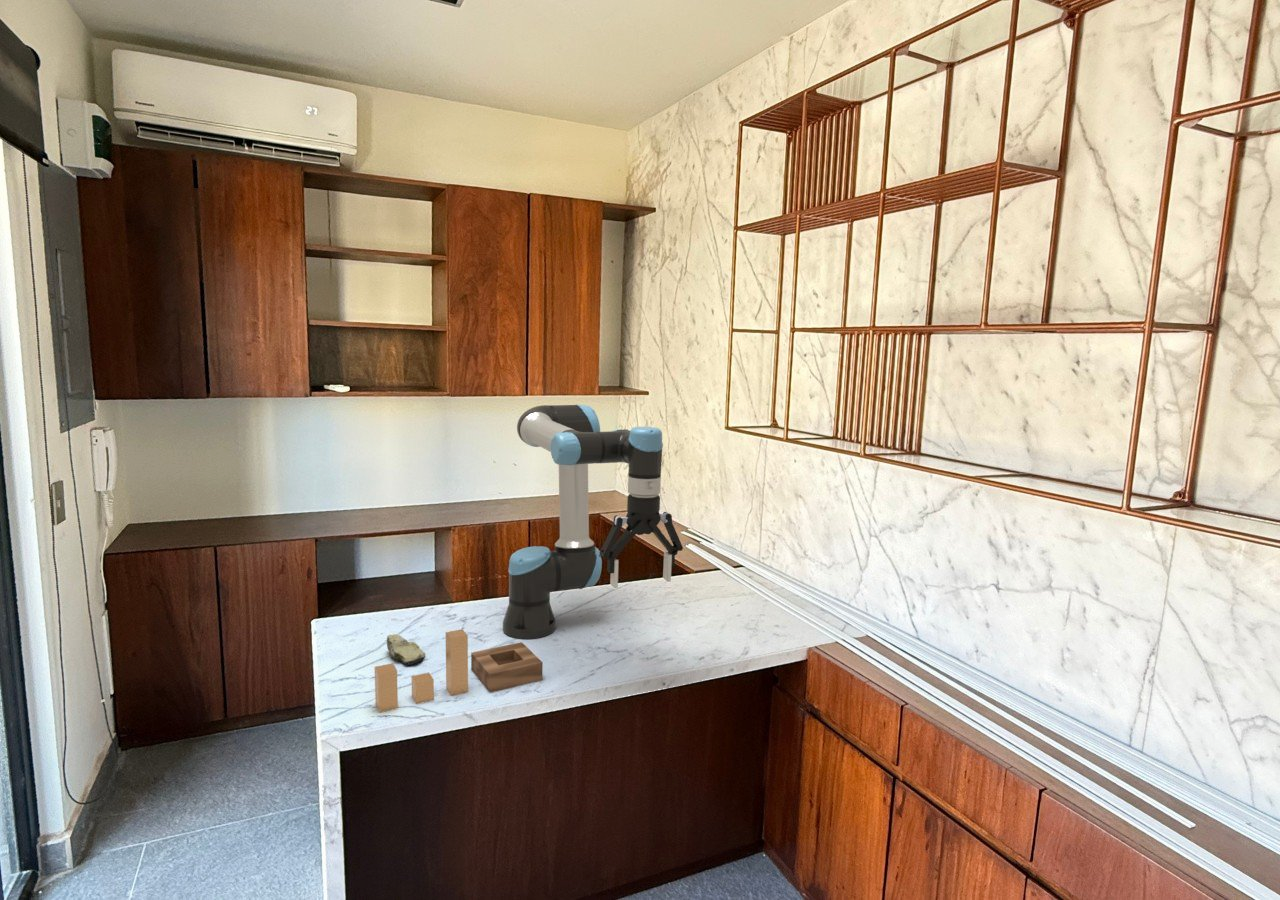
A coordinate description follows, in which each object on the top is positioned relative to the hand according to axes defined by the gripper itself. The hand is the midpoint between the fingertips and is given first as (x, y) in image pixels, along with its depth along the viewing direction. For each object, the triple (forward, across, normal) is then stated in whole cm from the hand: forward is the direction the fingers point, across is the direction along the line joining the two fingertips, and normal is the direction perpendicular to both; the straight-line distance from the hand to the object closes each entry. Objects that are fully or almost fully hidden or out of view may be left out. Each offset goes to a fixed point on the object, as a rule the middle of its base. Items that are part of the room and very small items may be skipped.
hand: (640, 583), depth 163 cm
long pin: (+27, -40, +15) cm, 50 cm away
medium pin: (+27, -56, +13) cm, 63 cm away
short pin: (+27, -48, +14) cm, 57 cm away
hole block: (+27, -27, +19) cm, 43 cm away
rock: (+28, -50, +37) cm, 68 cm away
